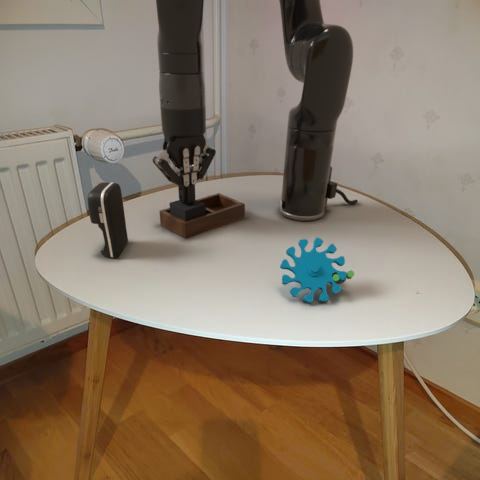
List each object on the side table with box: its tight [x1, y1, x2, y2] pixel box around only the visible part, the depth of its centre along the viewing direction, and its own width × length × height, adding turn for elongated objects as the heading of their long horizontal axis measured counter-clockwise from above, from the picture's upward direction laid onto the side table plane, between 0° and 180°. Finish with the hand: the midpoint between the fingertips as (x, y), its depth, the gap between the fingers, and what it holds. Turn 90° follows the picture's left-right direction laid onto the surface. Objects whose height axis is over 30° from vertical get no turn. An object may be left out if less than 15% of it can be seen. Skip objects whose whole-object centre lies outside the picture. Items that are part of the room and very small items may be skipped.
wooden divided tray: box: [159, 192, 246, 240], centre depth 84 cm, size 8×15×3 cm, turn 133°
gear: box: [279, 237, 355, 304], centre depth 64 cm, size 11×6×10 cm
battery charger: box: [87, 181, 129, 259], centre depth 71 cm, size 7×4×11 cm, turn 175°
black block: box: [169, 198, 206, 222], centre depth 81 cm, size 5×5×4 cm
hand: (187, 203), depth 80 cm, fingers closed
